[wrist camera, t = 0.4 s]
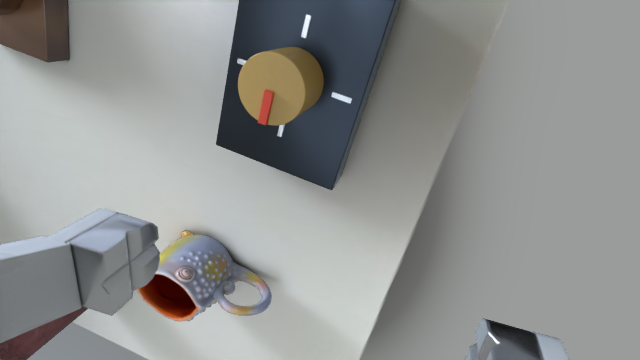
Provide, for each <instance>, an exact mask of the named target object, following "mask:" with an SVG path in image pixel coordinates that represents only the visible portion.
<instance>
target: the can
mask: <svg viewBox="0 0 640 360" xmlns="http://www.w3.org/2000/svg"><path fill="white" fill-rule="evenodd" d="M87 309H88V308H86V307H83V306H82V308H81V309H78V310H76V311H74V312H71V313H69V314H67V315H64V316H62V317H60V318H58V319H55V320H53V321H51V322H48V323H46V324H44V325H41V326H39V327H37V328H34V329H32V330H30V331H28V332H25V333H23V334H21V335H18V336H16V337H14V338H11V339H9V340H7V341H4V342H2V343H0V360H27V359H28V358H29V357H30V356H31V355H33V354H34V353H35V352H36V351H37V350H39V349H40V348H41V347H42V346H43V345H45V344H46V343H47V342H48V341H49V340H51V339H52V338H53V337H54V336H55V335H57V334H58V333H59V332H60V331H61V330H63V329H64V328H65V327H66V326H68V325H69V324H70V323H71V322H72V321H74V320H75V319H76V318H77V317H78V316H80V315H81V314H82V313H83V312H84V311H86V310H87Z"/></svg>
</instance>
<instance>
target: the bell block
mask: <svg viewBox="0 0 640 360" xmlns="http://www.w3.org/2000/svg"><path fill="white" fill-rule="evenodd" d="M0 44H2V45H4V46H7V47H9V48H12V49H14V50H17V51H20V52H22V53H25V54H27V55H30V56H32V57H35V58H38V59H40V60H43V61H45V62H55V61H64V60H69V38H68V5H67V0H0Z"/></svg>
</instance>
